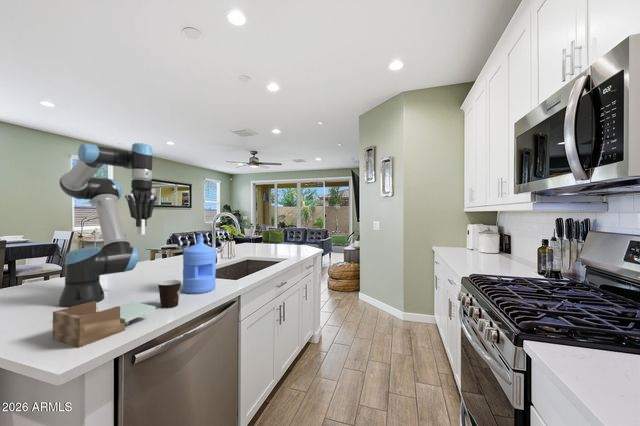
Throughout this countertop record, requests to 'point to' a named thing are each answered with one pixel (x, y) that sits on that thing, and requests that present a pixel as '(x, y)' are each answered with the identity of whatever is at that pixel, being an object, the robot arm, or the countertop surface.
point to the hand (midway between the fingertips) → (141, 234)
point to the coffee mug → (169, 293)
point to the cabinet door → (133, 311)
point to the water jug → (199, 268)
